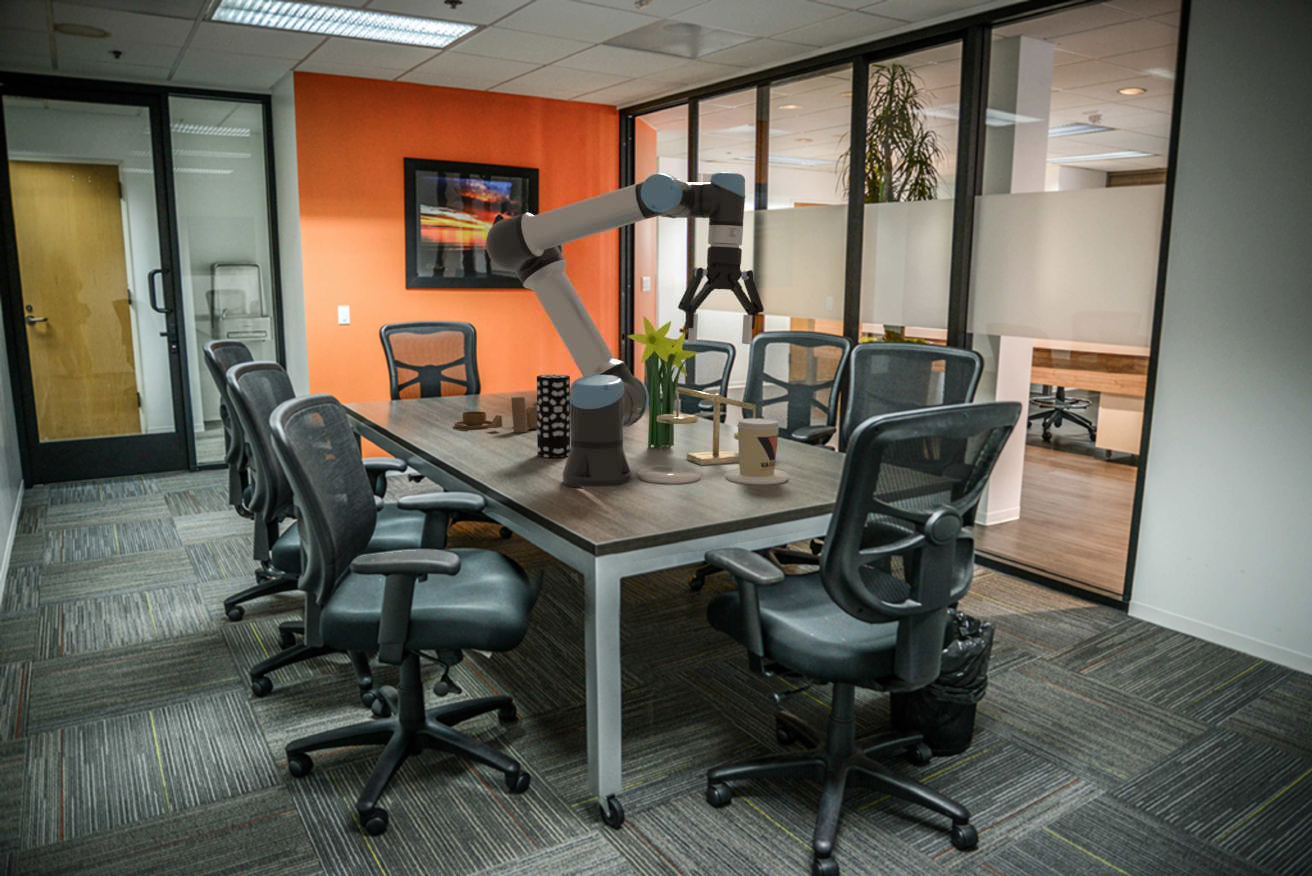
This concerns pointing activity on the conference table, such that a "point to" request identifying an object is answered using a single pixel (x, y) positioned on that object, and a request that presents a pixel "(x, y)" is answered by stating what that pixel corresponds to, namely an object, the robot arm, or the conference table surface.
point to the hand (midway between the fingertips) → (719, 343)
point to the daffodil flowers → (661, 378)
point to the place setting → (472, 421)
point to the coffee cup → (757, 446)
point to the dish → (756, 478)
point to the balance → (716, 455)
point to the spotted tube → (553, 415)
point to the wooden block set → (519, 416)
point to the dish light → (669, 475)
